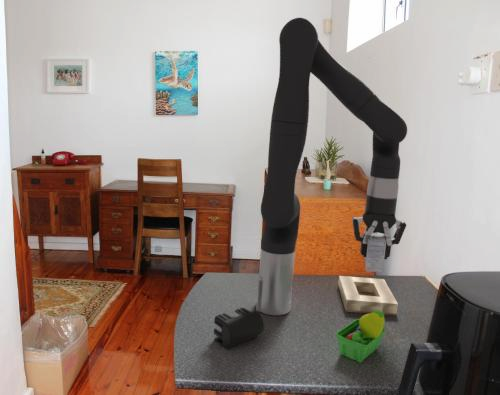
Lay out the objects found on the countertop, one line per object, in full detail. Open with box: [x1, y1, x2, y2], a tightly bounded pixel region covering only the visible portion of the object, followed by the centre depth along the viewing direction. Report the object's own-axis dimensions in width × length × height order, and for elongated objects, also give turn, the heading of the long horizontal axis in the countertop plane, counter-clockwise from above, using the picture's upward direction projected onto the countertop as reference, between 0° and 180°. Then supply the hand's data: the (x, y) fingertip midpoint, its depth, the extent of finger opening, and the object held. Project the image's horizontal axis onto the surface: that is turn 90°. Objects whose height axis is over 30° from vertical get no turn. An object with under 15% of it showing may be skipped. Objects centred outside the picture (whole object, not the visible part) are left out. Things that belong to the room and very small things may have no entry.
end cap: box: [213, 307, 265, 349], centre depth 107 cm, size 10×7×7 cm
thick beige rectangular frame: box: [337, 275, 399, 317], centre depth 135 cm, size 14×18×4 cm
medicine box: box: [364, 232, 386, 274], centre depth 120 cm, size 8×4×9 cm, turn 167°
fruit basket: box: [335, 310, 387, 363], centre depth 105 cm, size 11×9×11 cm
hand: (374, 257), depth 120 cm, fingers closed on medicine box, 4 cm apart
